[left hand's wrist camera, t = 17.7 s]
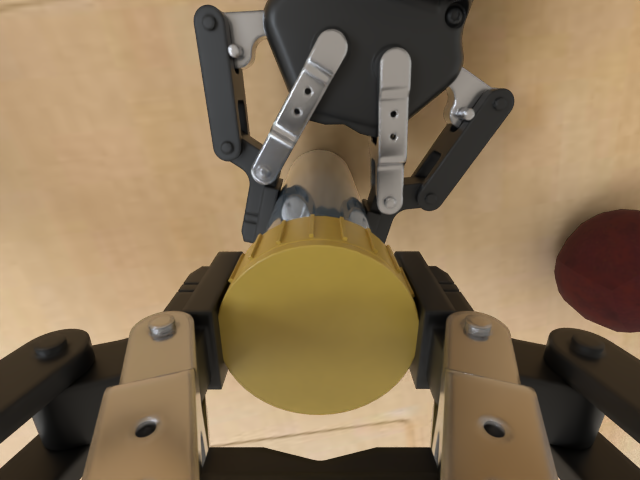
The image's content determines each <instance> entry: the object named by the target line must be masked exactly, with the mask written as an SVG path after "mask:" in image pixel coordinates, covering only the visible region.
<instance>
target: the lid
mask: <svg viewBox="0 0 640 480" xmlns="http://www.w3.org/2000/svg"><path fill="white" fill-rule="evenodd" d="M228 281H229V282H231V283H230V285H229V288H228V290H227V292H226V294H225V296H224V298H223V301H222V303H221V306H220V309H219V313H218V319H219V328H220V336H221V344H222V353H223V360H224V363H225V364H226V366H227V368H228V369H229V371H230V373H231V374H232V375H233V376H234V378H235V379H236V380H237V381H238V382H239V383H240V384H241V385H242V386H243V387H244V388H245V389H246V390H247V391H249V392H250V393H251V394H252V395H254V396H255V397H257V398H259V399H260V400H262V401H264V402H266V403H268V404H270V405H272V406H274V407H277V408H280V409H283V410H286V411H291V412H295V413H301V414H309V415H326V414H336V413H342V412H347V411H350V410H354V409H357V408H360V407H362V406H365V405H367V404H369V403H371V402H373V401H375V400H377V399H378V398H380V397H381V396H383V395H384V394H386V393H387V392H388V391H389V390H391V389H392V388H393V387H394V386H395V385H396V384H397V383H398V382H399V381H400V380H401V379H402V377H403V376H404V375H405V373H406V372H407V370H408V369H409V367H410V365H411V363H412V361H413V359H414V357H415V351H416V342H417V334H418V325H419V316H418V311H417V308H416V305H415V302H414V300H413V297H415V295H414V292H413V290H412V288H411V286H410V284H409V282H408V280H407V277H406V275H405V273H404V271H403V269H402V267H399V265H398V263H397V260H396V258H395V256H394V254H393V252H392V250H391V247H390V246H389V245H387V246H386V245H385V244H384V243H383V242H382V241H381V240H380V239H379V238H378V237H376V236H375V235H374V234H373V233H371V230H370V229H369V228H368V227H367V228H366V229H365V228H363V227H362V226H360V225H357V224H355V223H353V222H350V221H347V220H344V217H340V218H335V217H329V216H315V215H314V214H311V215H310V216H309V217H301V218H297V219H293V220H290V221H287V222H286V220H283V221H282V223H281V224H279V225H277V226H275V227H274V228H272V229H270V230H269V231H267V232H266V233H264V234H263V235H262V234H261V233H260V234H259V235H258V236H257V239H256V241H255V242H254V243H253V244H252V245H251V247H250V248H249V249H248V250H247V252H246V254H243V253H242V255H241V256H240V258H239V260H238V262H237V264H236V266H235V268H234V270H233V272H232V274H231V276H230V278H229V280H228Z"/></svg>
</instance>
